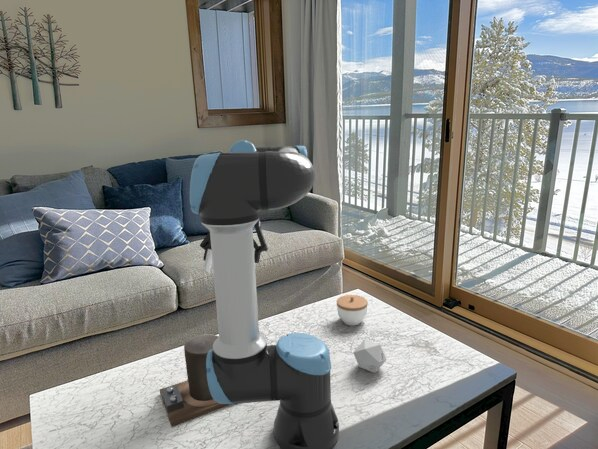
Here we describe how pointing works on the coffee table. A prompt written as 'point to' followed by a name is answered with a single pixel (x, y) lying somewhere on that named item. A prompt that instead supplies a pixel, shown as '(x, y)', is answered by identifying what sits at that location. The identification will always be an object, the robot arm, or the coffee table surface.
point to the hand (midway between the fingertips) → (228, 273)
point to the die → (369, 356)
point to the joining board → (190, 406)
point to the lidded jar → (352, 309)
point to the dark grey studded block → (172, 399)
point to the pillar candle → (198, 365)
